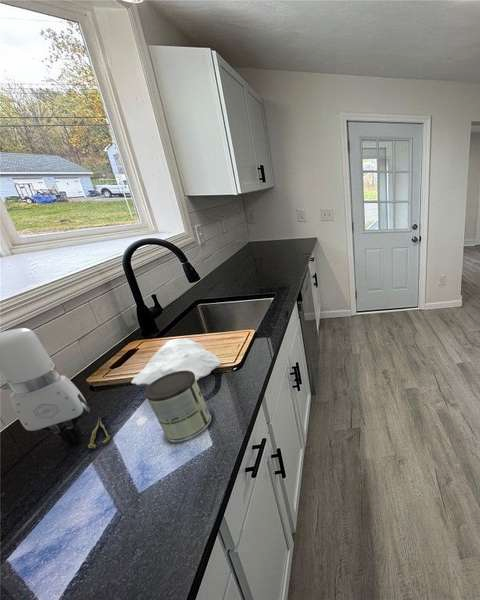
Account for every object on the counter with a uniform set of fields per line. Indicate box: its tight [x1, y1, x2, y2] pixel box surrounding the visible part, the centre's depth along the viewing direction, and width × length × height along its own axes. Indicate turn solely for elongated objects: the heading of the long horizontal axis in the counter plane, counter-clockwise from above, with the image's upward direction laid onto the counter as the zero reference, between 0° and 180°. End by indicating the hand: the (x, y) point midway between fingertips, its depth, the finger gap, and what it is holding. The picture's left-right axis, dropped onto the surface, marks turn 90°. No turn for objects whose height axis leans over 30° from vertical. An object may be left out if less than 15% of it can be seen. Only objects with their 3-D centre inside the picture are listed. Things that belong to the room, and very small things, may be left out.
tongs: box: [87, 417, 111, 449], centre depth 81 cm, size 4×13×2 cm, turn 46°
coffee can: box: [143, 371, 212, 443], centre depth 79 cm, size 10×10×14 cm
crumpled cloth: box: [130, 338, 222, 386], centre depth 102 cm, size 24×35×9 cm
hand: (74, 439), depth 79 cm, fingers closed
